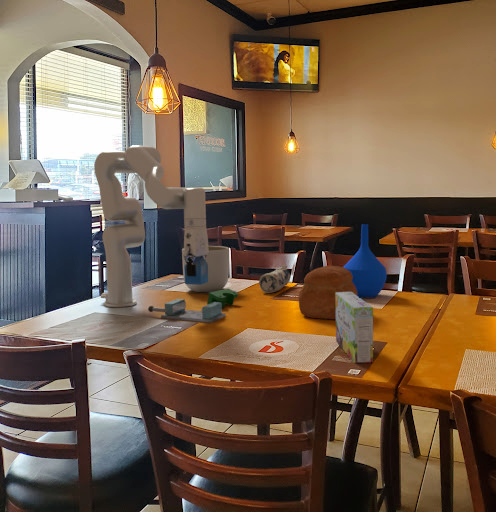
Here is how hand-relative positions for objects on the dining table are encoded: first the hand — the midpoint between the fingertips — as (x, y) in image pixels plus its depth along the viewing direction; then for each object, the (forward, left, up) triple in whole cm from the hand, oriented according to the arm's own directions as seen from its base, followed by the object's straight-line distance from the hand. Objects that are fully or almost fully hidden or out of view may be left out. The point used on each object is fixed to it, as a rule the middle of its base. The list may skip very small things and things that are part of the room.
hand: (196, 274), depth 197 cm
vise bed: (-2, 0, -16) cm, 16 cm away
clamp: (0, +21, -16) cm, 26 cm away
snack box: (+60, -21, -16) cm, 66 cm away
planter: (-22, +48, -16) cm, 55 cm away
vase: (+46, +60, -16) cm, 77 cm away
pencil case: (+7, +60, -16) cm, 63 cm away
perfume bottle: (0, 0, -3) cm, 3 cm away
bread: (+41, +23, -16) cm, 50 cm away
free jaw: (-12, 0, -14) cm, 19 cm away
